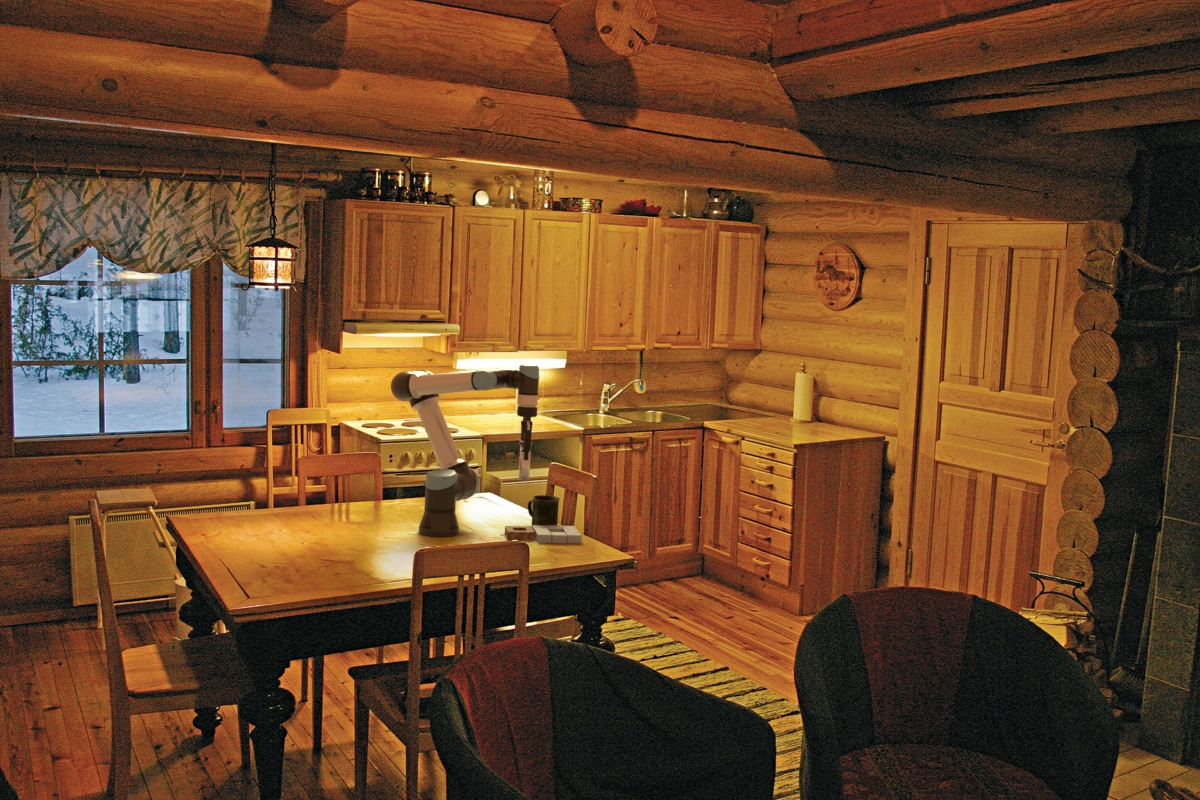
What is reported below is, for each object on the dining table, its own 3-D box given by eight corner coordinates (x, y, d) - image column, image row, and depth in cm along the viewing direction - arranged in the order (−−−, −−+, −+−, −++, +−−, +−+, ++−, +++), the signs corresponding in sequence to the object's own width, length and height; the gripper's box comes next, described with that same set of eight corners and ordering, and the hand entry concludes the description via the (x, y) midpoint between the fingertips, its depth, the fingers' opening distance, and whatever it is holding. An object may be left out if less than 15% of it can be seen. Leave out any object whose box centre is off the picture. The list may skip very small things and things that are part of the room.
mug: (546, 532, 416) (547, 501, 415) (518, 525, 425) (520, 495, 424) (563, 528, 424) (565, 498, 423) (536, 521, 433) (538, 492, 432)
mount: (507, 539, 399) (508, 531, 399) (504, 533, 409) (505, 525, 409) (534, 540, 401) (534, 532, 401) (530, 534, 411) (531, 526, 411)
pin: (518, 480, 400) (520, 442, 398) (516, 478, 405) (518, 440, 403) (531, 480, 401) (533, 442, 399) (529, 478, 406) (531, 440, 404)
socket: (537, 542, 397) (537, 534, 397) (531, 532, 413) (531, 525, 413) (581, 543, 400) (581, 535, 400) (573, 533, 417) (574, 525, 416)
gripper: (540, 408, 393) (537, 471, 395) (534, 403, 409) (531, 464, 411) (520, 408, 391) (517, 471, 393) (515, 403, 408) (512, 463, 410)
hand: (524, 467), depth 402 cm, fingers closed on pin, 4 cm apart
